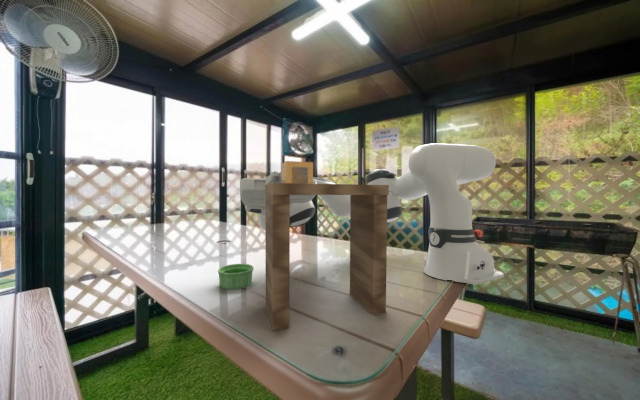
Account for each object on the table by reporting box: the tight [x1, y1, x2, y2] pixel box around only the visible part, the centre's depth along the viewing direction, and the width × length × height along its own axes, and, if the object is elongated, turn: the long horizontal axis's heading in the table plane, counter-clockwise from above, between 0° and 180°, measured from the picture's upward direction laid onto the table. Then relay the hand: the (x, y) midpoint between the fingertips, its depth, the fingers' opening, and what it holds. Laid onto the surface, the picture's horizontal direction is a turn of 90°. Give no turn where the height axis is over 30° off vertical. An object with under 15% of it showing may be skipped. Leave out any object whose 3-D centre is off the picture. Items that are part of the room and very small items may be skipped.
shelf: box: [265, 183, 389, 332], centre depth 54 cm, size 23×12×26 cm, turn 108°
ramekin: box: [217, 263, 254, 290], centre depth 69 cm, size 9×9×4 cm
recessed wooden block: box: [275, 160, 314, 184], centre depth 56 cm, size 5×20×4 cm, turn 18°
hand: (283, 173), depth 62 cm, fingers closed on recessed wooden block, 3 cm apart
